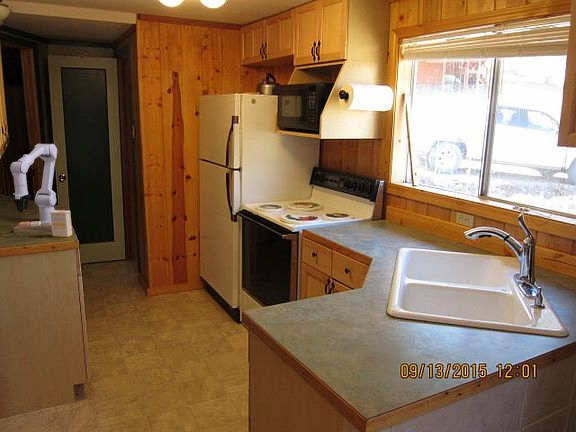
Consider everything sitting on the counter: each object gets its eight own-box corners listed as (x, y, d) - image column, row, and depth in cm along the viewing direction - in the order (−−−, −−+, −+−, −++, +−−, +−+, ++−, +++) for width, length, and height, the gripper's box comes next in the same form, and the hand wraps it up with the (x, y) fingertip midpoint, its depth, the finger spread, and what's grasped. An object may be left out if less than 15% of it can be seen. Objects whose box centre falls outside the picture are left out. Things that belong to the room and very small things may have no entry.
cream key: (32, 225, 263) (32, 221, 263) (41, 225, 264) (41, 221, 264) (30, 227, 259) (30, 223, 259) (39, 226, 260) (38, 222, 260)
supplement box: (72, 235, 251) (70, 210, 248) (67, 237, 246) (65, 212, 243) (57, 234, 251) (55, 209, 249) (52, 237, 247) (49, 211, 244)
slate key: (43, 224, 264) (43, 221, 264) (52, 224, 265) (51, 220, 265) (41, 226, 260) (41, 222, 260) (50, 226, 261) (49, 222, 261)
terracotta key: (21, 225, 262) (21, 221, 262) (30, 225, 263) (29, 221, 263) (19, 227, 258) (18, 223, 258) (27, 227, 259) (27, 223, 258)
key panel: (21, 226, 266) (21, 222, 266) (57, 225, 270) (56, 221, 270) (13, 232, 254) (13, 227, 253) (51, 231, 258) (50, 226, 257)
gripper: (16, 182, 262) (19, 207, 265) (7, 187, 248) (10, 213, 251) (31, 182, 263) (33, 207, 266) (22, 186, 250) (25, 212, 252)
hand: (23, 210), depth 259 cm, fingers open, 7 cm apart
